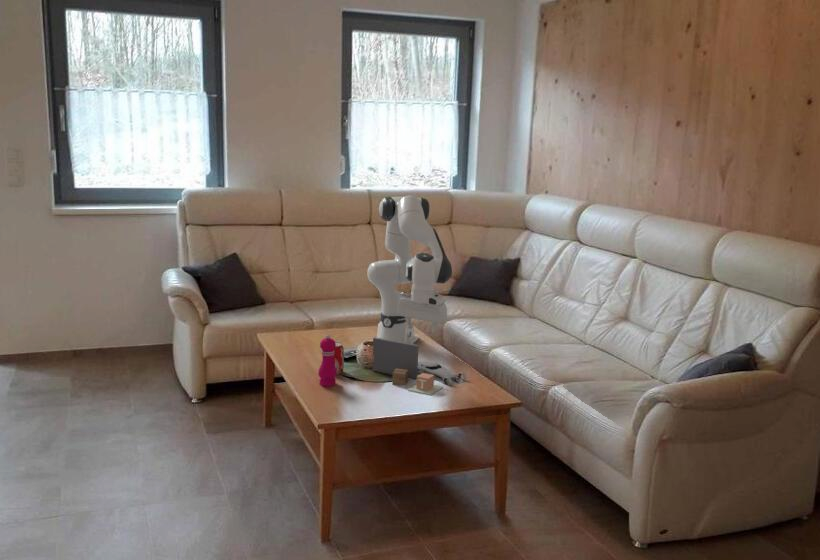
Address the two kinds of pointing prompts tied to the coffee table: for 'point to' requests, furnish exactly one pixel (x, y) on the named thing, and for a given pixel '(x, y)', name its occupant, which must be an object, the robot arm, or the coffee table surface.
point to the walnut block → (400, 377)
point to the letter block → (425, 382)
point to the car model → (440, 373)
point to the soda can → (338, 357)
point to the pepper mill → (327, 362)
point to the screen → (395, 357)
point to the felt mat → (425, 391)
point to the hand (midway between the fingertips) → (420, 330)
